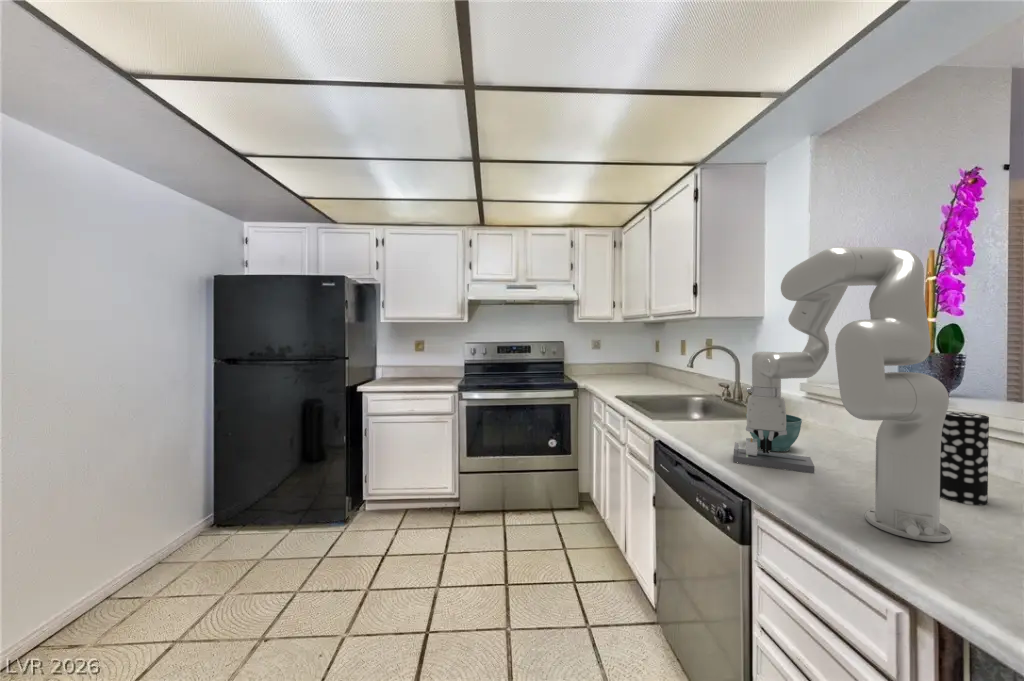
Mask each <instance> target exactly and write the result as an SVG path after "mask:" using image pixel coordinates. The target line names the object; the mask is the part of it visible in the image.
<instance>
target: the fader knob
mask: <svg viewBox="0 0 1024 681" xmlns="http://www.w3.org/2000/svg"><path fill="white" fill-rule="evenodd" d="M745 449H746V455H753V456H757V451H758V446H757V439H753V437H752V438H751V437H750V438H748V437H746V438H745Z"/></svg>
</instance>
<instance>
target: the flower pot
mask: <svg viewBox="0 0 1024 681" xmlns="http://www.w3.org/2000/svg"><path fill="white" fill-rule="evenodd" d="M745 418H746V419H747V413H746V414H745ZM802 422H803V419H802V418H800V417H798V416H795V415H792V414H787V413H786V431H787V435H779V436H777V437H776V438H774V439H773V440H772V451H771V452H779V451H781V452H780V453H782V451H784V452H788V451H790V449H791V446H793V444H795V442H796V441H797V439H798V438H799V435H800V433H801V427H802V426H801V425H802V424H803V423H802ZM749 434H750V436H751V437H752V439H757V448H759V449H760V439H759V437H758V436H757V435H756V434H755V433H752V432H749ZM768 434H769V431H764V430H763V435H764V436H765V439H767V437H768Z"/></svg>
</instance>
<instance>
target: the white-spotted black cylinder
mask: <svg viewBox="0 0 1024 681" xmlns="http://www.w3.org/2000/svg"><path fill="white" fill-rule="evenodd" d="M989 428H990V417H989V416H988V415H984V414H979V413H972V412H965V411H964V412H963V411H951V410H950V411H949V410H947V413H946V417H945V420H944V424H943V429H942V437H941V457H940V498H943V499H946V500H948V501H952V502H956V503H960V504H964V505H971V506H972V505H973V506H985V505H986V506H987V505H988V504H987V503H988V502H989V499H988V496H989V495H988V494H989V492H988V491H989V442H990V439H989V437H990V436H989V434H990V429H989Z"/></svg>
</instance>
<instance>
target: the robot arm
mask: <svg viewBox="0 0 1024 681" xmlns="http://www.w3.org/2000/svg"><path fill="white" fill-rule="evenodd" d="M924 268H925V267H924V265H923V262H922V260H921V258H920V257H919V256H918V255H917V254H916V253H914V252H912V251H911V250H908V249H905V248H899V247H888V246H861V247H859V246H857V247H856V246H855V247H854V246H852V247H851V246H844V247H843V246H837V247H831V248H827V249H824V250H822V251H820V252H818V253H816V254H814V255H813V256H811V257H809V258H807V259H805V260H803V261H801V262H800V263H797V264H796V265H795V266H794V267H792V268H791V269H789V270H788V271H787V272H786V273H785V274H784V276H783V277H782V278H783V279H782V281H781V283H780V292H781V295H782V296H783V298H784V299H785V300H788V301H792V302H795V303H794V306H793V308H792V309H791V311H790V314H789V316H788V318H787V319H788V323H789V325H790V326H791V327H792V328H794V329H795V330H797V331H798V332H800V333H802V334H805V335H808V340H807V343H806V345H805V346H804V348H803V350H802V351H793V352H792V351H791V352H790V351H786V352H775V351H756V352H754V353H753V354H752V356H751V386H750V387H746V392H747V393H750V394H751V395H749V397H748V400H747V407H746V414H747V418H746V427H745V430H746V432H749V433H750V432H752V433H755V434H756V435H757V436H758V437H759V439H760V448H759V449H760V450H762V451H763V453H768V454H769V452H770V450H771V452H773V451H772V440H773V439H774V438H776V437H777V436H779V435H787V431H786V414H787V409H786V402H785V398H784V397H782V380H786V379H787V380H788V379H808V378H811V377H813V376H815V375H816V374H817V373H818V372H819V371H820V370H821V368H822V366H823V365H824V363H825V361H826V359H827V358H828V356H829V353H830V342H829V336H828V334H827V332H826V327H827V326H828V323H829V321H830V320H831V318H832V317H833V314H834V313H835V311H836V309H837V307H838V305H839V304H840V302H841V300H842V298H843V297H844V295H845V293H846V291H847V289H848V287H854V286H855V287H857V286H861V287H862V286H863V287H864V286H873V287H874V286H875V287H874V289H873V291H872V293H871V296H870V298H869V301H868V309H869V313H870V314H869V315H870V316H869V317H870V319H859V320H853V321H850V322H849V323H847V324H845V325H844V326H843V327H842V328H841V329H840V331H839V333H838V334H837V337H836V340H835V344H834V345H835V348H834V349H835V360H836V369H837V379H838V388H839V394H840V395H839V396H840V399H841V400H840V401H841V403H842V405H843V407H844V408H845V410H846V412H848V413H849V415H851V416H852V417H854V418H855V419H856V418H857V419H858V420H862V421H872V422H873V421H874V422H875V421H876V422H877V421H882V422H881V423H880V425H879V427H878V430H877V432H876V438H875V473H874V474H875V480H874V481H875V483H874V484H875V485H874V488H875V489H874V492H875V493H874V496H875V497H874V508H872V509H871V508H870V509H868V510H866V511H865V514H864V516H865V517H864V518H865V520H866V521H867V522H868V523H869V524H870V525H872V526H874V527H876V528H877V529H880V530H882V531H883V532H886V533H889V534H893V535H895V536H899V537H903V538H905V539H911V540H915V541H921V542H929V543H930V542H931V543H932V542H933V543H939V542H940V543H942V542H947V541H949V540H951V537H952V531H951V530H950V528H948V527H947V526H945V525H944V524H943V523H941V522H940V519H941V518H940V515H941V513H940V512H941V507H940V506H941V497H940V457H941V437H942V429H943V424H944V420H945V417H946V413H947V411H949V404H950V398H949V392H948V390H947V388H946V387H945V385H944V384H943V383H942V382H941V381H940V380H939V379H937V378H936V377H933V376H931V375H928V374H926V373H922V372H921V373H920V372H915V371H912V372H911V371H900V372H899V371H896V372H895V371H893V372H892V371H891V372H885V371H886V370H885V366H887V367H888V366H889V367H893V366H900V367H901V366H910V365H916V364H920V363H922V362H924V361H925V360H926V359H927V358H928V357H929V356H930V353H931V350H932V349H931V347H932V346H931V344H932V343H931V336H930V329H929V320H928V315H927V314H928V313H927V307H926V302H925V295H924V292H925V290H924V289H925V288H924V285H925V269H924ZM763 430H764V431H769V434H768V437H767V439H765V436H764V435H763Z"/></svg>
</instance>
